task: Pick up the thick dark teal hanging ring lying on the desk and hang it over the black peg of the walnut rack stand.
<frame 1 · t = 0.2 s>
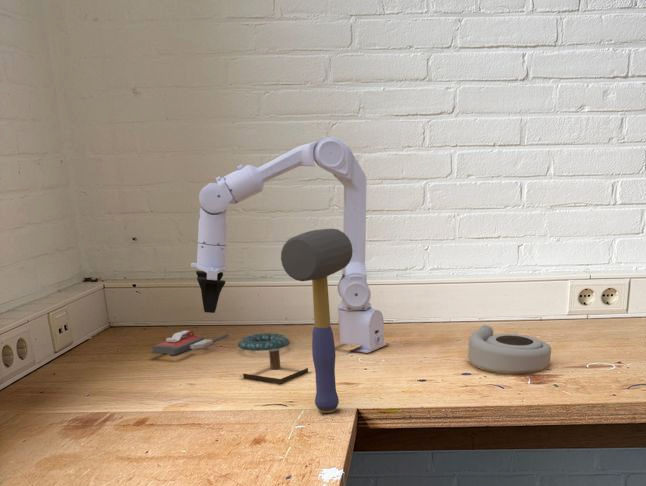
hand: (208, 308, 169), 10 cm above the table, tool pointing down, fingers open, 7 cm apart
hang ring: (264, 344, 176), point 1 cm above the table
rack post: (276, 375, 157), on the table
rubber mallet: (327, 412, 135), on the table
turbocharger housing: (507, 366, 160), on the table
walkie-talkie: (191, 351, 178), on the table
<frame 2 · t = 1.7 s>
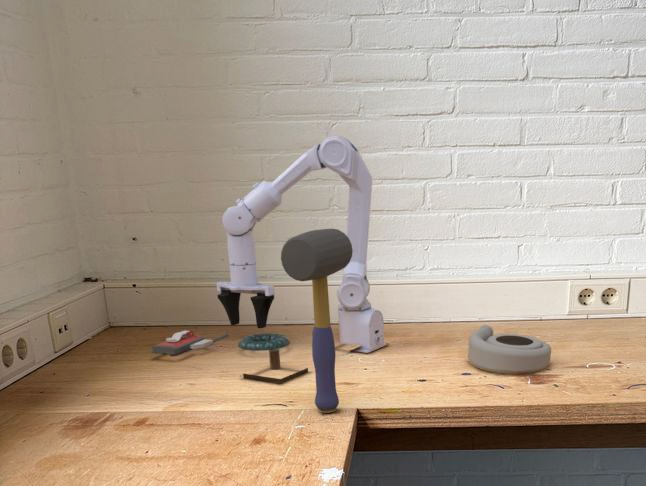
hand: (248, 326, 176), 5 cm above the table, tool pointing down, fingers open, 7 cm apart
nothing on the table moved.
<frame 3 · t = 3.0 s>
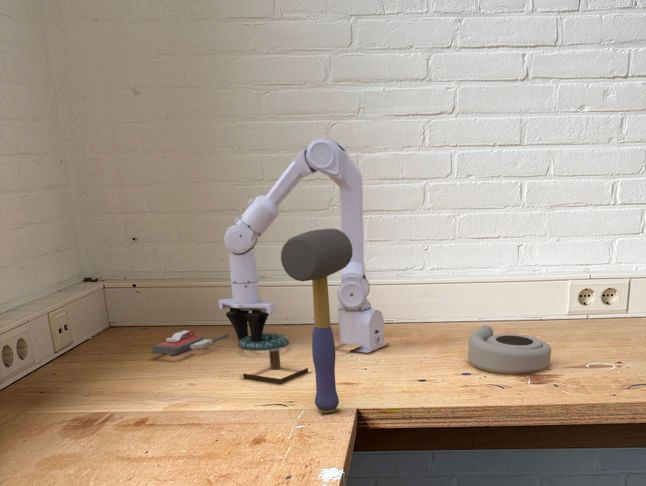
hand: (250, 342, 178), 1 cm above the table, tool pointing down, fingers closed on hang ring, 3 cm apart
hang ring: (263, 344, 176), point 2 cm above the table, touching gripper
everything else where it was.
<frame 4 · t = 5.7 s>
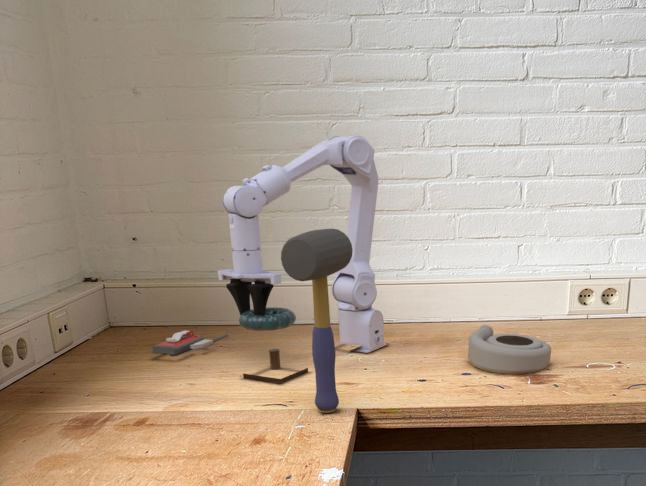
hand: (252, 317, 161), 10 cm above the table, tool pointing down, fingers closed on hang ring, 3 cm apart
hang ring: (267, 318, 159), point 10 cm above the table, touching gripper
everything else where it was.
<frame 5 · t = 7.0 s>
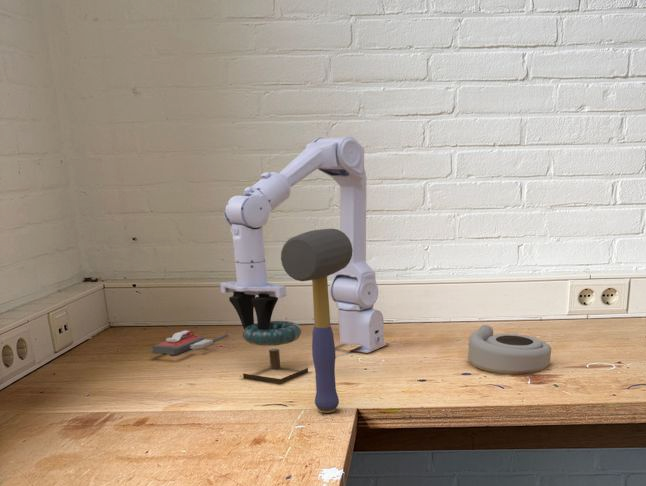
hand: (256, 331, 156), 8 cm above the table, tool pointing down, fingers closed on hang ring, 3 cm apart
hang ring: (272, 332, 154), point 9 cm above the table, touching gripper
everything else where it was.
when the fingers open (5 cm above the table, at t = 8.3 s): hang ring drops 3 cm, resting on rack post.
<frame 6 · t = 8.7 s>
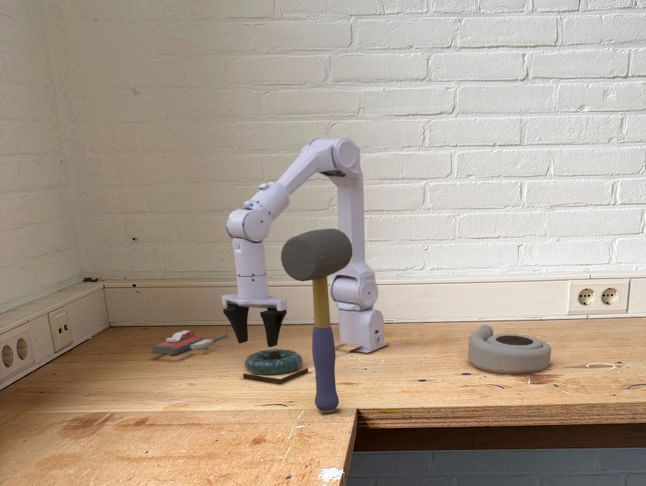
hand: (257, 344, 157), 6 cm above the table, tool pointing down, fingers open, 7 cm apart
hang ring: (273, 362, 156), point 3 cm above the table, touching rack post
everything else where it was.
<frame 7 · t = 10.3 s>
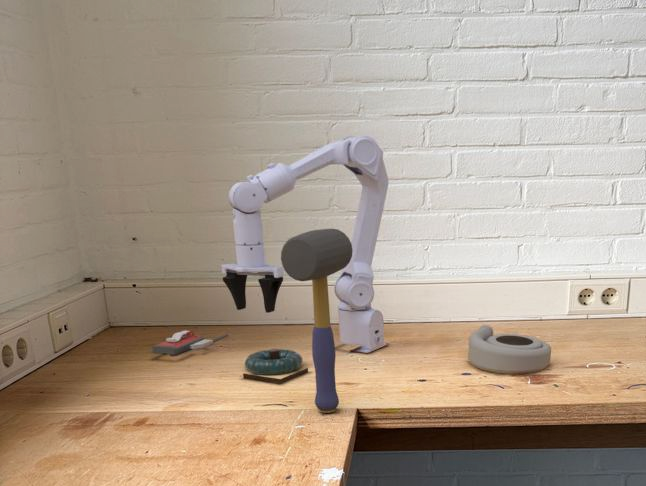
hand: (255, 310, 166), 10 cm above the table, tool pointing down, fingers open, 7 cm apart
nothing on the table moved.
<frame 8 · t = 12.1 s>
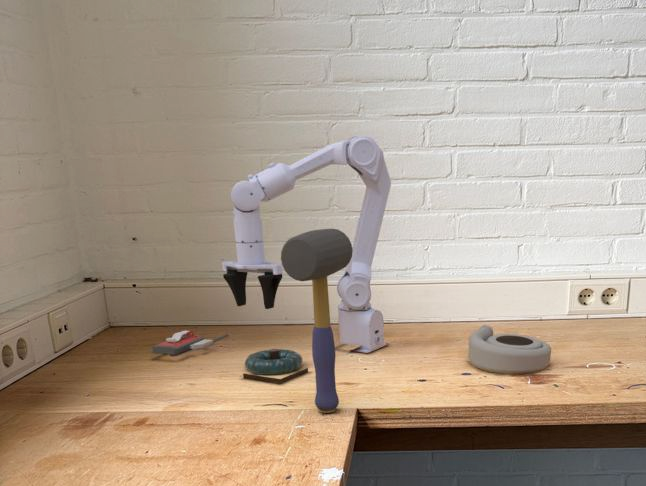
hand: (255, 306, 170), 10 cm above the table, tool pointing down, fingers open, 7 cm apart
nothing on the table moved.
at the end: hang ring 0.4 cm from the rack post (horizontally); hang ring point 2.7 cm above the table; the gripper is holding nothing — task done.
